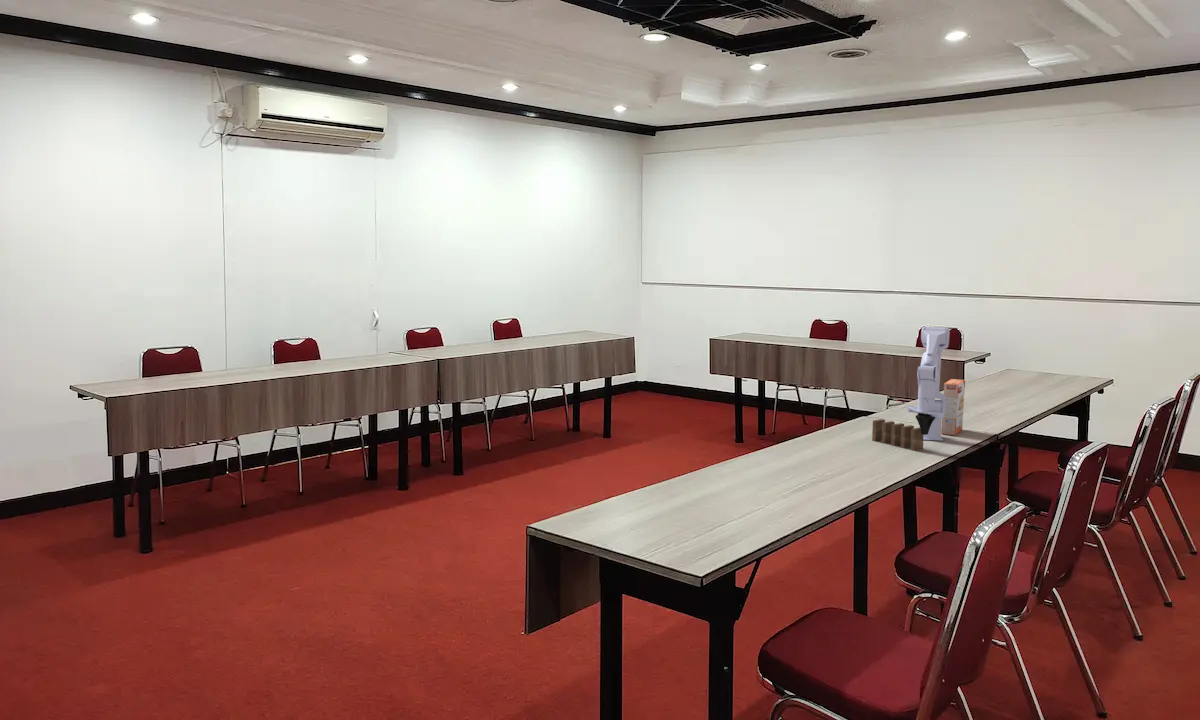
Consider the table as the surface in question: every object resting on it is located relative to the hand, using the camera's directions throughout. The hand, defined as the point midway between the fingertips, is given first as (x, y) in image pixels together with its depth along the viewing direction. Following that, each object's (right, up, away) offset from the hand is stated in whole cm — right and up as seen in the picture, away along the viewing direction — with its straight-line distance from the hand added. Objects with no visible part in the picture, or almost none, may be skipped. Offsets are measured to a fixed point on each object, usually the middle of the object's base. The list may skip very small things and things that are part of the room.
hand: (924, 434), depth 312 cm
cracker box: (+23, -2, +32) cm, 40 cm away
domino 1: (-11, -4, +19) cm, 22 cm away
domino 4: (-4, -6, +7) cm, 10 cm away
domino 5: (-2, -6, +4) cm, 7 cm away
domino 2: (-9, -5, +15) cm, 18 cm away
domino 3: (-6, -5, +11) cm, 14 cm away
